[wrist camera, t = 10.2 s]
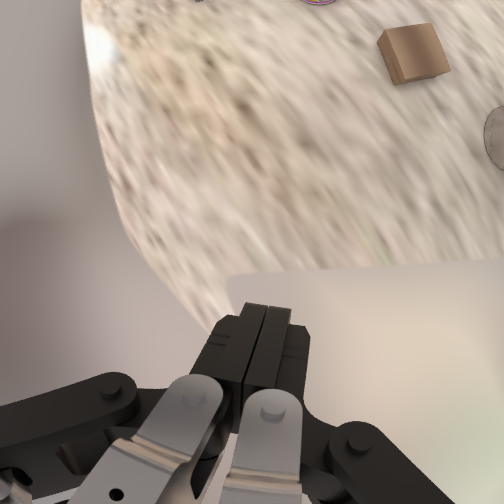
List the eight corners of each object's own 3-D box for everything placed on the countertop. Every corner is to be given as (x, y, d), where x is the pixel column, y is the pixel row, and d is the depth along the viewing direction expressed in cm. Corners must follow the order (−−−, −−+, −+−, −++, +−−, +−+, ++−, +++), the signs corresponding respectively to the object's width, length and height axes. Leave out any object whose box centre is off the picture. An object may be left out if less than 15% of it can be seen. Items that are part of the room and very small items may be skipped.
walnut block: (417, 35, 29) (431, 22, 23) (434, 77, 30) (451, 71, 25) (376, 42, 31) (385, 29, 25) (393, 85, 32) (405, 79, 27)
